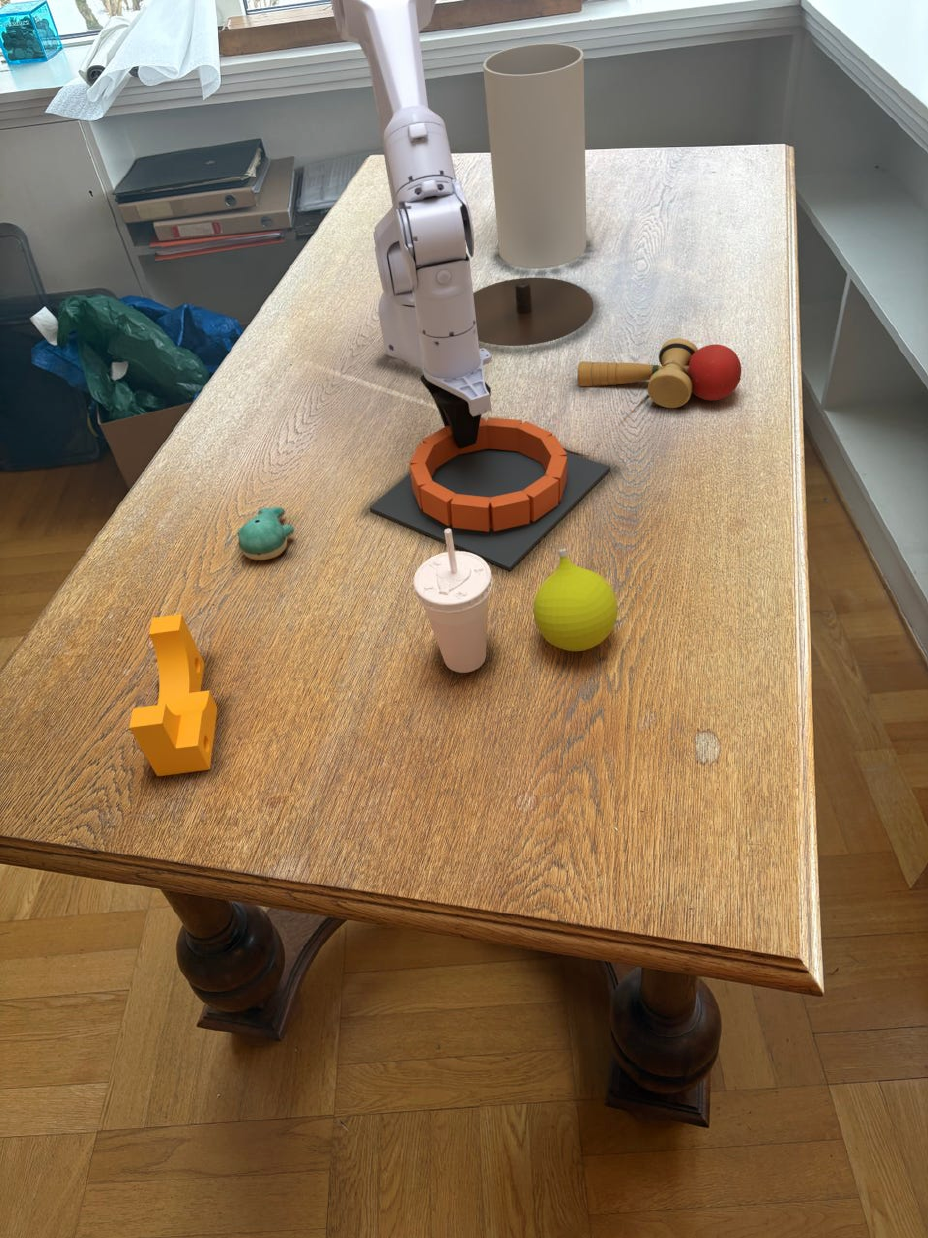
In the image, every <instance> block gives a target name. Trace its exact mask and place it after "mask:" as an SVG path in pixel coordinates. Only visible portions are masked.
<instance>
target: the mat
mask: <svg viewBox="0 0 928 1238" xmlns="http://www.w3.org/2000/svg"><path fill="white" fill-rule="evenodd" d="M565 452H566V454H567V482H566V485H565V488H564V492H563V495H562V498H561V501H560V502H558V505H557V506H555V507H554V508H553V509H551V510H550V511H548V512H547V513H546V514H544V515H543V516H541V517H540V518H539V519H537V520H536V521H534V522H533V521H531V520H530V523H529V524H525V525H521V526H516V527H512V528H507V529H503V530H498V531H494V530H493V528H492V526H491V528H490V531H489V532H486V531H478V530H469V529H460V528H453V524H451V525H450V526H447V525H445V524H444V523H442V522H440V521H438V520H437V519H435V518H433V517H431V516H430V515H428V514H426V513H424V512H423V509H420V506H419V504H418V501H417V499H416V497H415V494H414V492H413V489H412V482H411V473H408V474H407V475H406V476H405V477H404V478H402V480H400V481H399V482H398V483H397V484H395V485H394V486H393V487H392V488H391V489H390V490H388V491H386V493H385V494H384V495H383V496H381V497H380V498H378V500H377V501H375V502H374V503H373V504H372V505H370V506H369V510H370V512H372V513H374V514H376V515H379V516H381V517H383V518H385V519H388V520H390V521H393V522H395V523H397V524H399V525H402V526H405V527H406V528H408V529H412V530H414V531H416V532H418V533H421V534H423V535H425V536H428V537H430V538H432V539H435V540H437V541H439V542H442V543H444V544H446V538H445V532H444V531H445V530H446V529H451V531H452V537H453V544H454V549H458V550H459V551H462V552H469V553H472V554H475V555H477V556H479V557H481V558H482V559H483V560H485V561H486V562H488V563H490V564H492V565H495V566H497V567H500V568H502V569H505V570H507V571H509V572H511V571H512V570H513V569H514V568H515V567H516V566H517V565H518V564H519V563H520V562H521V561H522V560H523V559H524V558H525V557H526V556H527V555H528V554H529V553H530V552H531V551H532V550H533V549H534V548H535V547H536V546H537V545H538V544H539V542H540V541H542V540H543V539H544V538H545V537H546V535H548V533H550V531H552V530H553V529H554V527H556V526H557V524H558V523H560V521H561V520H563V518H565V516H566V515H568V513H569V512H571V510H572V509H573V508H575V506H576V505H577V504H578V503H580V501H581V500H582V499H583V498H584V497H585V496H586V495H587V494H588V493H589V492H590V491H591V490H592V489H593V488H594V487H595V486H596V485H597V484H598V483H599V482H600V481H601V480H602V479H603V478H605V476H606V475H607V474H608V473H609V472H610V471H611V467H610V466H609V465H606V464H603V463H600V462H598V461H594V460H592V459H589V458H586V457H583V456H580V455H578V454H574V453H571V452H568V451H565ZM545 474H546V470H545V468H544V467H543V465H542V463H541V462H539V461H536V460H534V459H532V458H530V457H528V456H526V455H524V454H522V453H520V452H518V451H509V450H499V449H483V450H478V451H473V452H468V453H463V454H459V455H457V456H455V457H453V458H452V459H450V460H449V461H447V462H445V463H444V464H442V465H441V466H439V467H437V468H436V469H435V472H434V474H433V476H432V480H433V481H434V482H435V483H437V484H439V485H441V486H443V487H445V488H446V489H448V490H450V491H452V492H454V493H456V494H461V495H471V496H480V497H489V498H491V497H495V496H500V495H504V494H509V493H514V492H518V491H523V490H524V489H526V488H527V487H528V486H530V485H531V484H533V483H534V482H536V481H537V480H539V479H540V478H542V477H543V476H545Z"/></svg>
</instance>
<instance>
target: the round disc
mask: <svg viewBox="0 0 928 1238" xmlns="http://www.w3.org/2000/svg"><path fill="white" fill-rule="evenodd" d="M473 296H474V305H475V314H476V324H477V333H478V342H482V343H485V344H488V345H495V346H503V347H525V346H534V345H540V344H545V343H549V342H553V341H556V340H558V339H562V338H564V337H566V336H568V335H571V334H572V333H574V332H576V331H578V330H579V329H581V328H582V327H583V326H584V325H585V324H586V323H587V322H588V321H589V320H590V318H591V317H592V316H593V314H594V309H595V305H594V299H593V298H592V296H591V295H590V293H588V291H586V290H585V289H584V288H582V287H581V286H579V285H577V284H574V283H572V282H570V281H566V280H562V279H557V278H552V277H551V278H550V277H519V278H512V279H508V280H503V281H499V282H496V283H493V284H490V285H487V286H485V287H483V288H480V289H479V290H477V291H475V292H473Z"/></svg>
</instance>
